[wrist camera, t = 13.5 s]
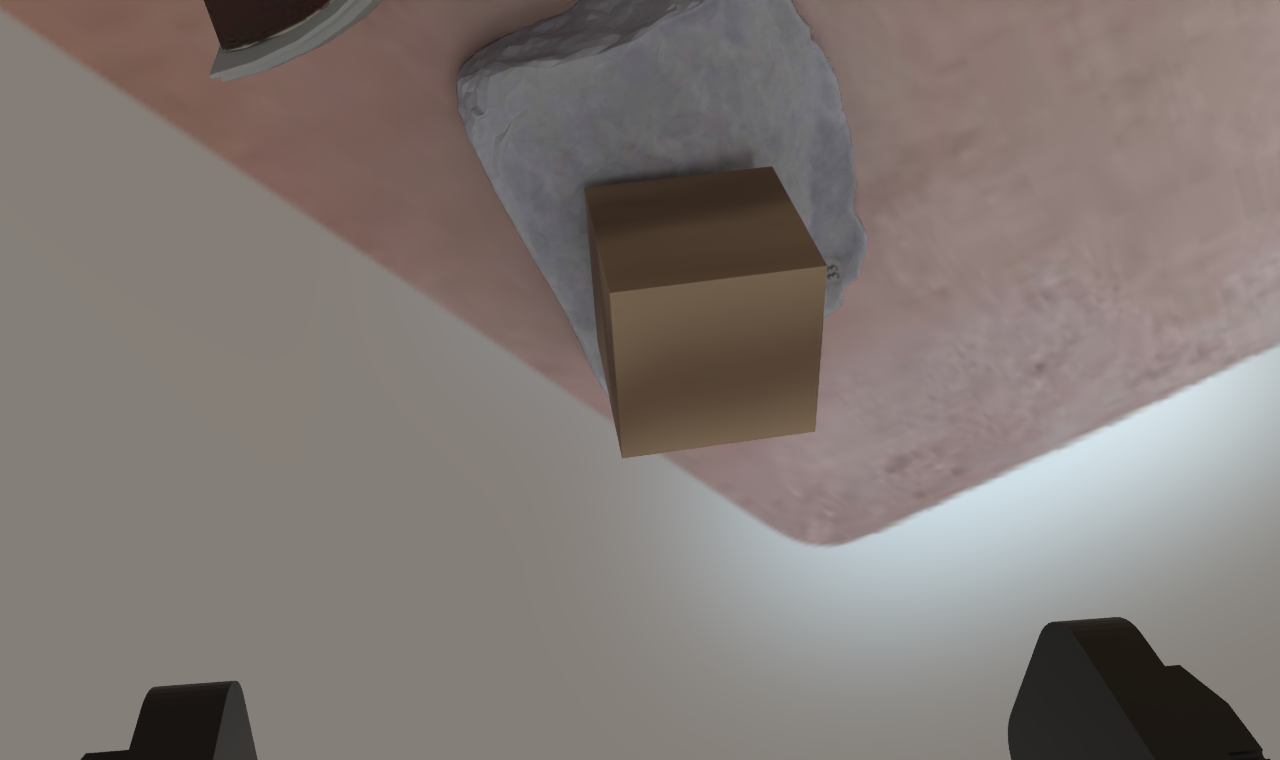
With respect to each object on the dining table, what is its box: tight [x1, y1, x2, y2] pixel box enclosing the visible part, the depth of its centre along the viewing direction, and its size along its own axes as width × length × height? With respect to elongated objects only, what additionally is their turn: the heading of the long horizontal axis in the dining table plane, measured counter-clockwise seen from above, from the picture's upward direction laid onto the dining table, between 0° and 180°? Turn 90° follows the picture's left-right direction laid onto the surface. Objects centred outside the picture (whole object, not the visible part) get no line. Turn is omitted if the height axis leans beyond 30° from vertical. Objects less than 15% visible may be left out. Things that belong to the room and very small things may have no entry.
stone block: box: [456, 0, 868, 397], centre depth 31 cm, size 12×5×10 cm
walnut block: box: [584, 166, 827, 458], centre depth 28 cm, size 5×5×5 cm
